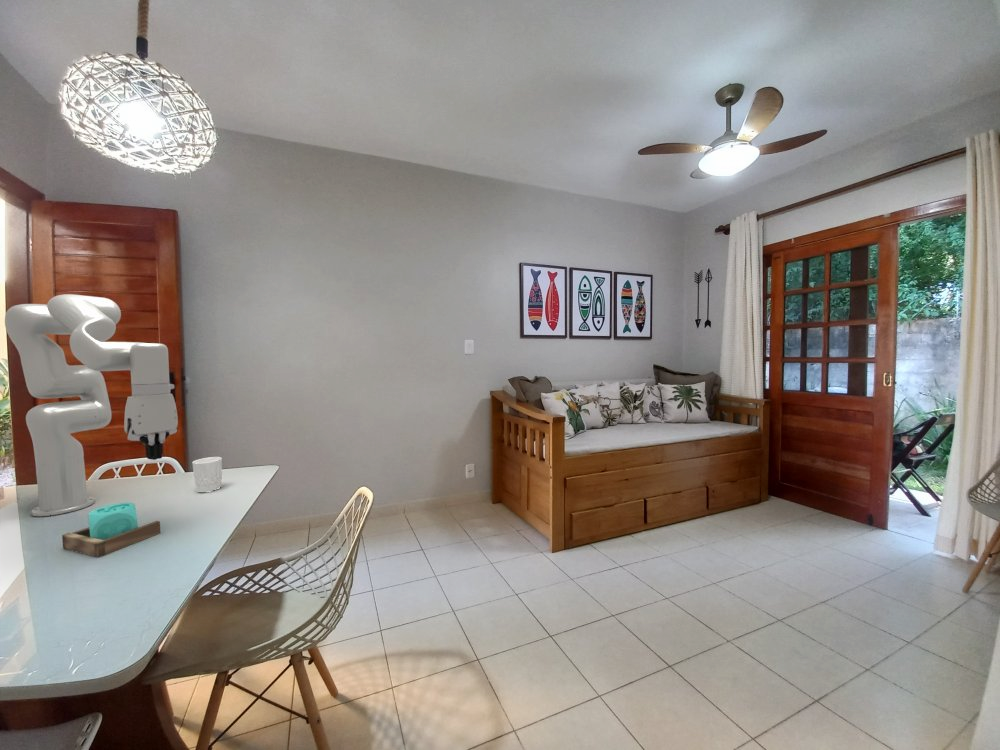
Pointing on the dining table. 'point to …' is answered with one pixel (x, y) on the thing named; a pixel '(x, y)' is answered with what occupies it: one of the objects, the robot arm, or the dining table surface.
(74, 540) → the corral
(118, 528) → the decorative dice
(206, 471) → the white cup
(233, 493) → the dining table surface
